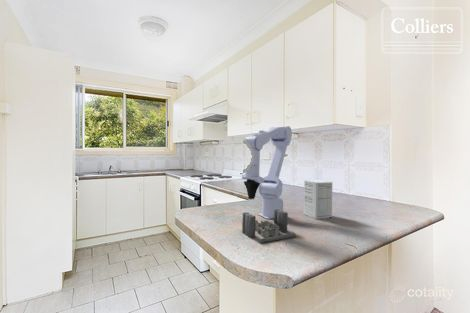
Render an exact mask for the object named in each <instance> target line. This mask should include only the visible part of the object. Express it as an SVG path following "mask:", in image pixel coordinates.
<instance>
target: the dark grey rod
mask: <svg viewBox="0 0 470 313" xmlns="http://www.w3.org/2000/svg"><path fill="white" fill-rule="evenodd" d="M296 235H297V234H296V233H294V232H292V233H287V234H282V235H277V236H269V237H263V238H260V239H259V240H258V243H259V244H262V243H267V242H269V243H270V242H274V241H279V240H284V239H290V238H296Z"/></svg>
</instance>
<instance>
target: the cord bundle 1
mask: <svg viewBox="0 0 470 313" xmlns="http://www.w3.org/2000/svg"><path fill="white" fill-rule="evenodd" d="M256 218H257V217H256V215H253V214H252V213H249V212H242V222H241V223H242V225H241V226H242V227H241V228H242V230H241V233H242V234H244V235H245V236H247V237H248V238H250V239H254V238H256V230H255V221H256V220H257V219H256Z"/></svg>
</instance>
